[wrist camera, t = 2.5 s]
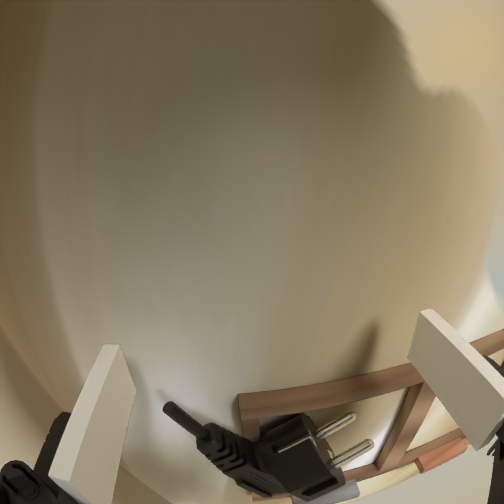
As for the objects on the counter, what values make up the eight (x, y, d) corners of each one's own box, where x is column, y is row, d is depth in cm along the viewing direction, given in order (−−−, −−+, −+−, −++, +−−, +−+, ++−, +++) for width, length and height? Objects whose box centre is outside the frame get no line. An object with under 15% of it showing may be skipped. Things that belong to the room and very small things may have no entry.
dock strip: (238, 394, 16) (241, 434, 13) (526, 318, 18) (546, 334, 15) (251, 491, 21) (254, 517, 18) (473, 424, 23) (484, 440, 20)
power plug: (152, 462, 9) (285, 521, 13) (332, 378, 9) (391, 471, 13) (158, 374, 14) (267, 461, 18) (285, 300, 14) (357, 415, 18)
